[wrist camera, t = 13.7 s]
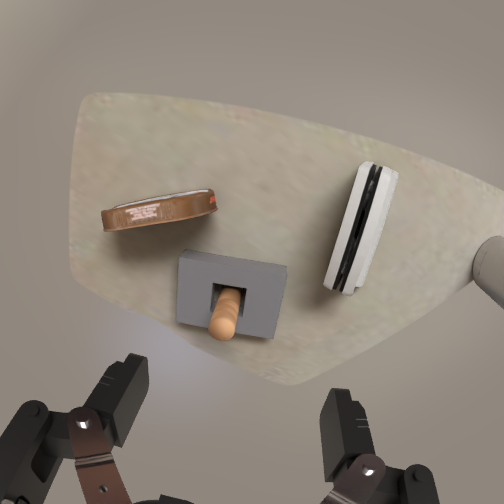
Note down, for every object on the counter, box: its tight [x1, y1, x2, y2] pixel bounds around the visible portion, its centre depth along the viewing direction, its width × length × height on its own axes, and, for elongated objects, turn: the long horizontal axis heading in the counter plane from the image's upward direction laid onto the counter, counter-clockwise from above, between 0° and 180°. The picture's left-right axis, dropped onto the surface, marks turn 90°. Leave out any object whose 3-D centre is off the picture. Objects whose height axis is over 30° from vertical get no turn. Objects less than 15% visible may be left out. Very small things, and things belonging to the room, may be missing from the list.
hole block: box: [176, 250, 287, 339], centre depth 43 cm, size 14×10×3 cm
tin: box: [101, 189, 218, 232], centre depth 37 cm, size 15×3×8 cm, turn 98°
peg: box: [208, 284, 242, 341], centre depth 40 cm, size 3×3×10 cm
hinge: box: [323, 161, 399, 296], centre depth 36 cm, size 17×5×10 cm, turn 167°
